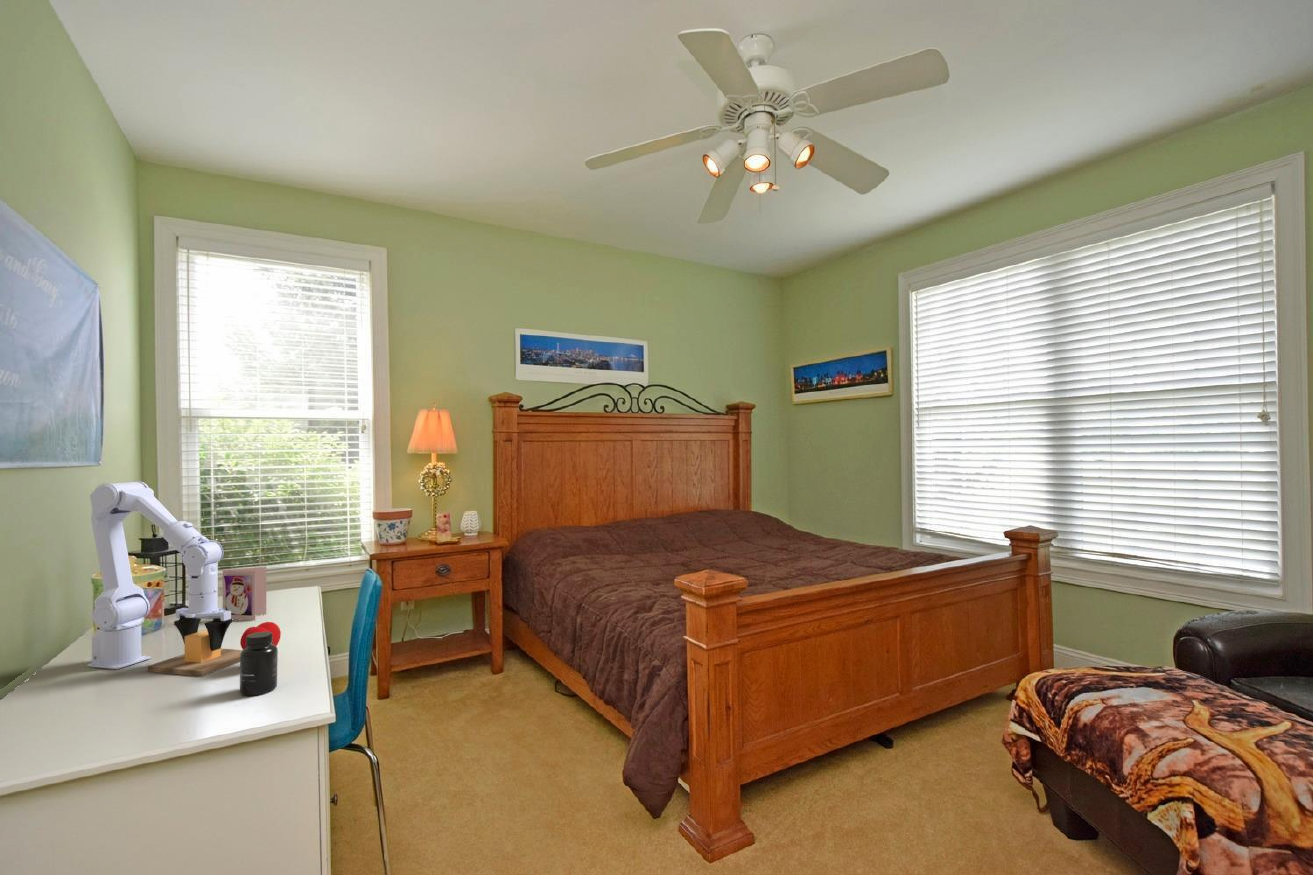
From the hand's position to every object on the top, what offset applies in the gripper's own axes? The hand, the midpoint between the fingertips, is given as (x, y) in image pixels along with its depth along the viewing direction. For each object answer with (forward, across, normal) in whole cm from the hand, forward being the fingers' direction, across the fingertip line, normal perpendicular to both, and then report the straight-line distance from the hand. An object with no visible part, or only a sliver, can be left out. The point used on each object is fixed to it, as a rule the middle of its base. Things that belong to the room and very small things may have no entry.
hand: (203, 648), depth 149 cm
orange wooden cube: (+2, 0, 0) cm, 2 cm away
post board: (+4, 0, 0) cm, 4 cm away
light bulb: (+4, +16, +1) cm, 16 cm away
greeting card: (+4, -26, +36) cm, 45 cm away
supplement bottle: (+4, +28, -11) cm, 30 cm away
